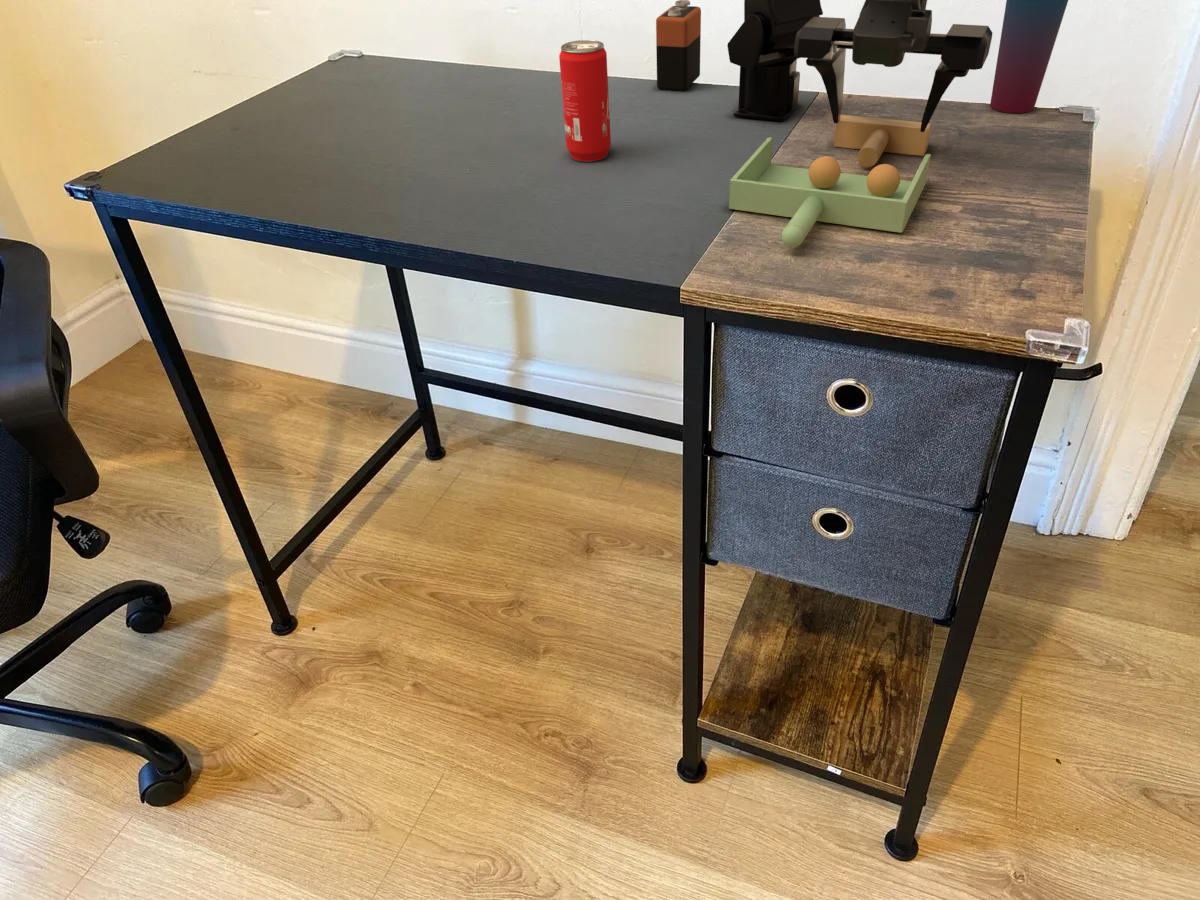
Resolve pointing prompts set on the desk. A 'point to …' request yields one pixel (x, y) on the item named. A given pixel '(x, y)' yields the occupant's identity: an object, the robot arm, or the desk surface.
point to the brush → (880, 136)
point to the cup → (1025, 52)
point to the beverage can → (585, 99)
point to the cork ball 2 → (883, 180)
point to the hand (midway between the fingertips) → (879, 126)
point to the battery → (678, 46)
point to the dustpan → (820, 197)
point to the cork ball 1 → (824, 172)
